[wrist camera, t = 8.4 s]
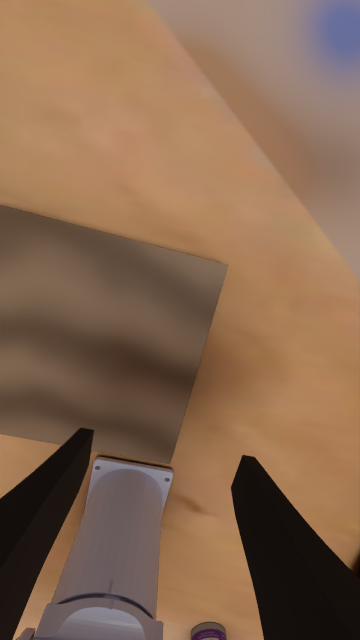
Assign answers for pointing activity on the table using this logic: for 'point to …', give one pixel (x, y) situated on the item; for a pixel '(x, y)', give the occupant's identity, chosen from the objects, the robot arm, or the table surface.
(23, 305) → the grey brown board
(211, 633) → the container
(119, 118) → the table surface
